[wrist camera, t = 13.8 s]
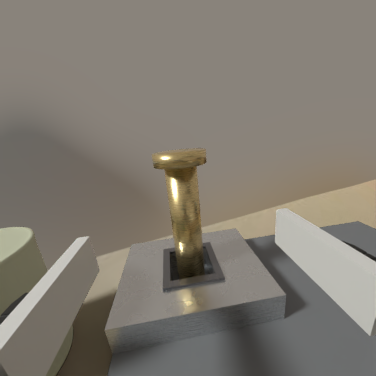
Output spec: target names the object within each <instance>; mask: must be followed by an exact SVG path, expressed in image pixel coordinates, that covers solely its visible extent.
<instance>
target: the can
mask: <svg viewBox="0 0 376 376" xmlns="http://www.w3.org/2000/svg"><path fill="white" fill-rule="evenodd" d="M47 272H48V271H47V268H46V266H45V263H44V260H43V258H42V255H41V253H40V250H39V248H38V245H37V243H36V239H35V236H34V232H33V230H31V229H30V228H26V227H10V228H2V229H0V316H1V314H2V313H3V312H4V311H5V310H6V309H7V308H8V307H9V306H10V304H11V303H13V302H14V301H15V300H17V299H18V298H19V297H21V296H22V295H23V294H24V293H28V292H30V291H31V290H32V289H33V287H34V286H35V285H36V284H37V283H38V282H39V281H40V280H41V278H42V277H43V276H44V275H45V274H46V273H47ZM72 340H73V326H72V325H71V327H70V329H69V331H68V333H67V335H66V337H65V339H64V341H63V343H62V345H61V347H60V349H59V351H58V353H57V355H56V357H55V359H54V361H53V362H52V364H51V366H50V368H49V370H48V372H47V374H46V376H56V375H57V373H58V371H59V370H60V368H61V367H62V365H63V363H64V361H65V359H66V357H67V355H68V353H69V350H70V347H71V344H72Z"/></svg>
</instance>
